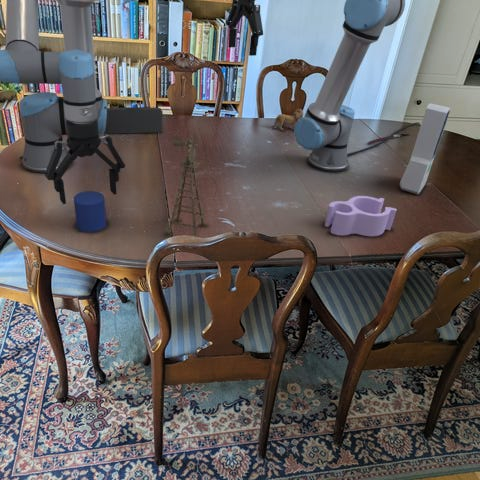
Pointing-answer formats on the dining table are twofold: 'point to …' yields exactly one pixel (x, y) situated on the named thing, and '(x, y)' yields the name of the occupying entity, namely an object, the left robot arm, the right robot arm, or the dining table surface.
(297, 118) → the lion figurine
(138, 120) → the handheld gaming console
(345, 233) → the clip
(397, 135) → the sword
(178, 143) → the miniature windmill
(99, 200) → the can
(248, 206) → the dining table surface
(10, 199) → the dining table surface
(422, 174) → the electronic device
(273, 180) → the dining table surface
